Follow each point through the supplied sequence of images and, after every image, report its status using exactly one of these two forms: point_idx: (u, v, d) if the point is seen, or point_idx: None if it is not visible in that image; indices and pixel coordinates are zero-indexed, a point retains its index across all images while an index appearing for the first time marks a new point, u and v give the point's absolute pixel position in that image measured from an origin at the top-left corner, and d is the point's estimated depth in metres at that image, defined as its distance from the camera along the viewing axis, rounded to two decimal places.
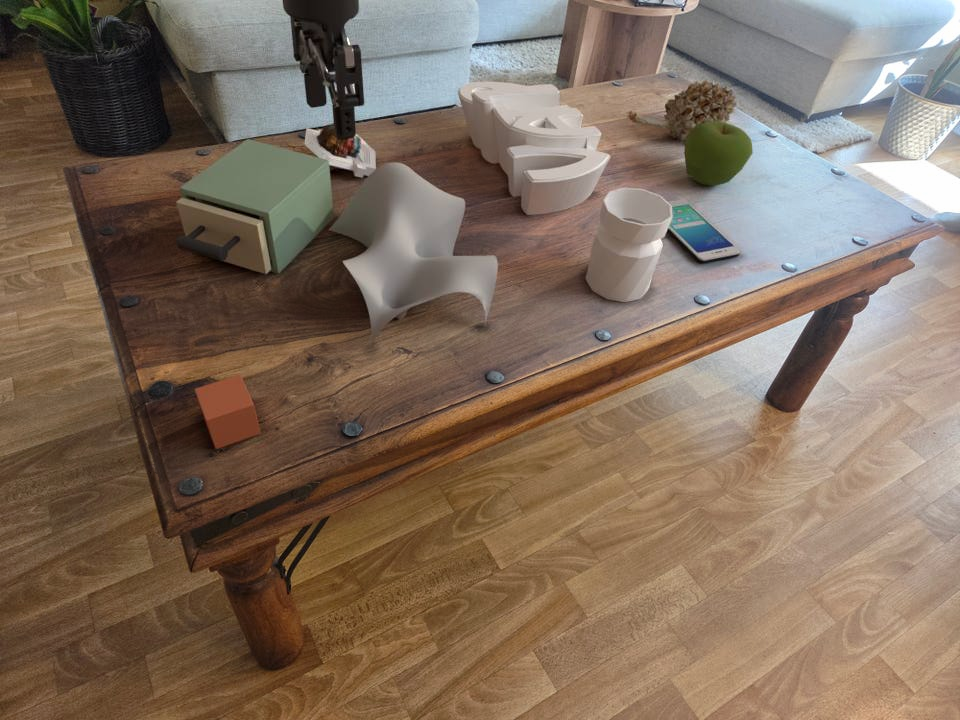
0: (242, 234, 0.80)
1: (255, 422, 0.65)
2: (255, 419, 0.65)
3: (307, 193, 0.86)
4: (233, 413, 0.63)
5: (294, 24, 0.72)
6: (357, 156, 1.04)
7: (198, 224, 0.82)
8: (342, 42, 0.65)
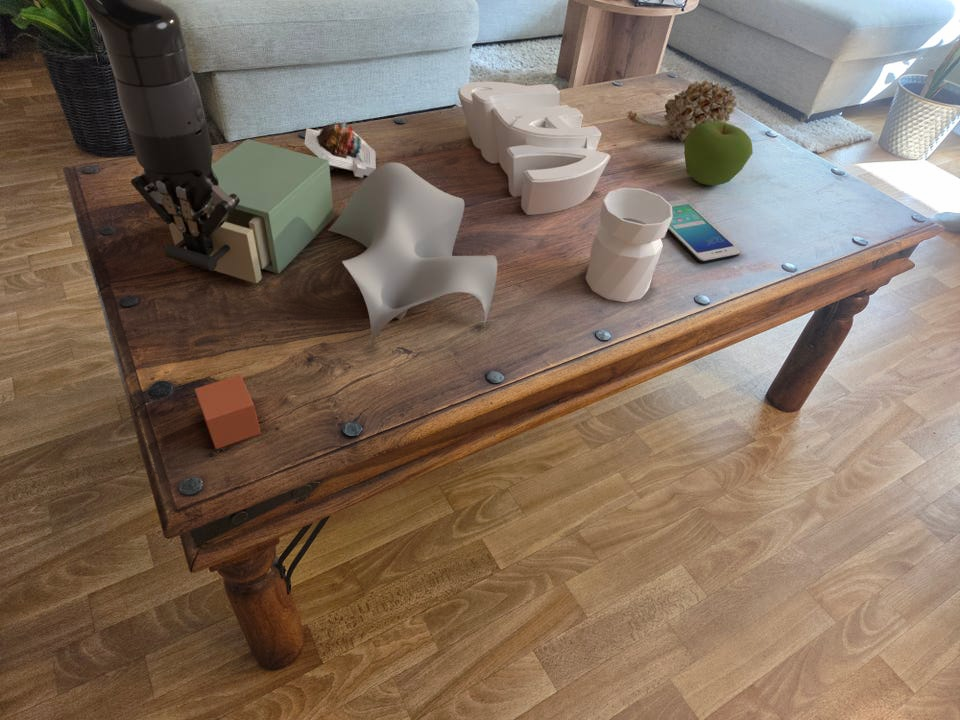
0: (232, 243, 0.79)
1: (255, 422, 0.65)
2: (255, 419, 0.65)
3: (307, 193, 0.86)
4: (233, 413, 0.63)
5: (145, 190, 0.73)
6: (357, 156, 1.04)
7: None
8: (219, 190, 0.71)
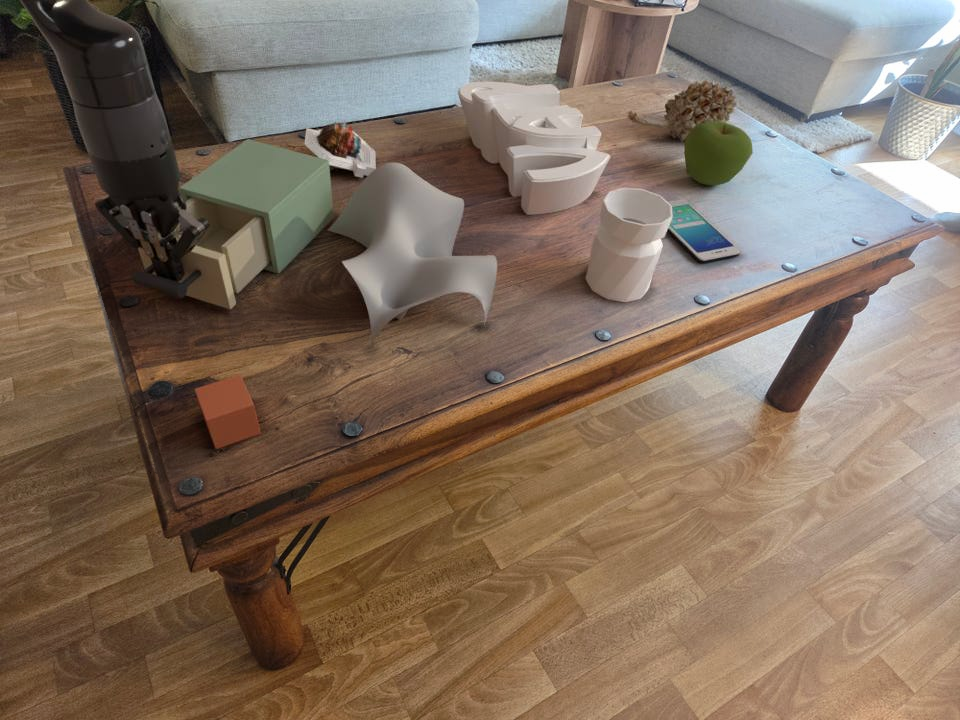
0: (203, 268, 0.75)
1: (255, 422, 0.65)
2: (255, 419, 0.65)
3: (307, 193, 0.86)
4: (233, 413, 0.63)
5: (110, 214, 0.70)
6: (357, 156, 1.04)
7: None
8: (187, 214, 0.68)
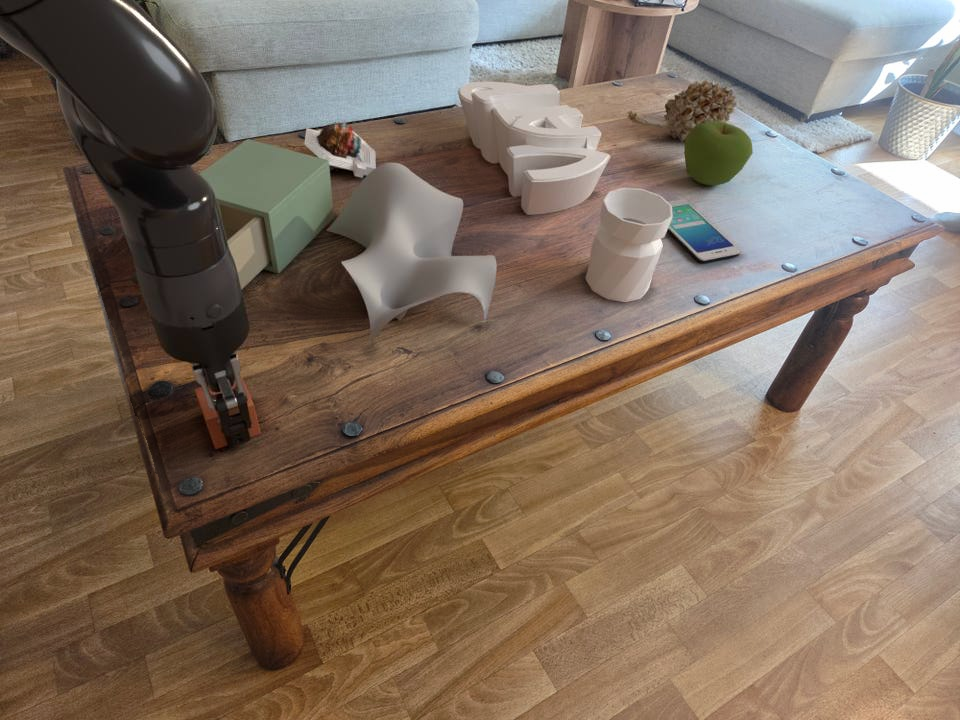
0: None
1: (255, 422, 0.65)
2: (255, 419, 0.65)
3: (307, 193, 0.86)
4: None
5: None
6: (357, 156, 1.04)
7: None
8: (227, 385, 0.57)
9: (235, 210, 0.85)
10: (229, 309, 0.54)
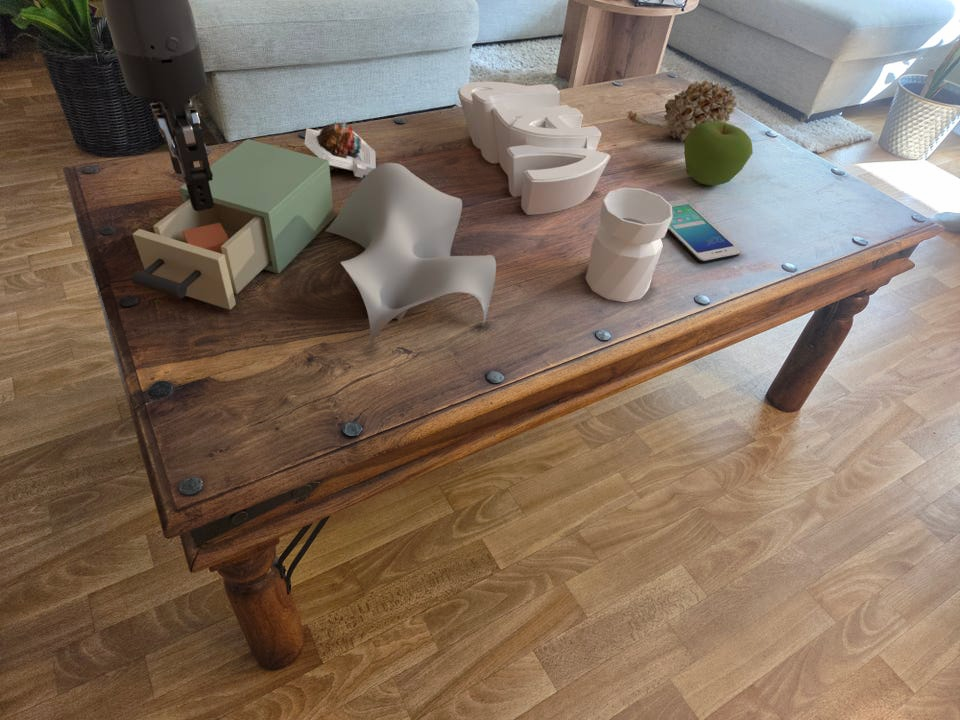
0: (203, 268, 0.75)
1: None
2: None
3: (307, 193, 0.86)
4: (213, 247, 0.78)
5: None
6: (357, 156, 1.04)
7: (157, 257, 0.76)
8: (184, 120, 0.65)
9: (235, 210, 0.85)
10: (186, 47, 0.62)
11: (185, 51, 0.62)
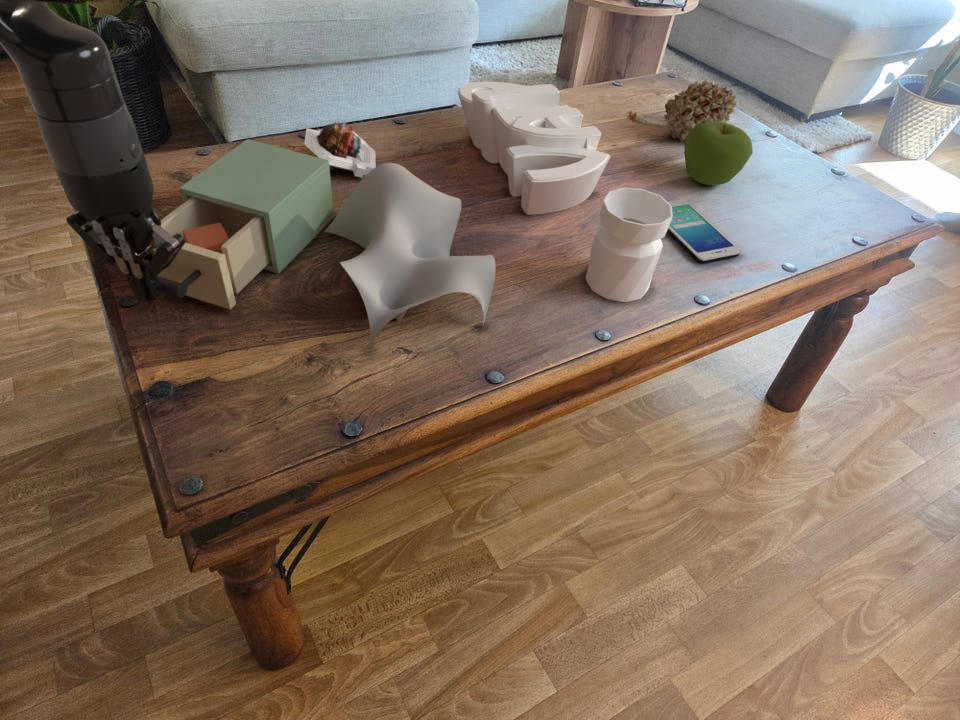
0: (203, 268, 0.75)
1: None
2: None
3: (307, 193, 0.86)
4: (214, 247, 0.78)
5: (82, 229, 0.67)
6: (357, 156, 1.04)
7: None
8: (162, 230, 0.65)
9: (235, 210, 0.85)
10: (141, 150, 0.61)
11: (141, 154, 0.61)
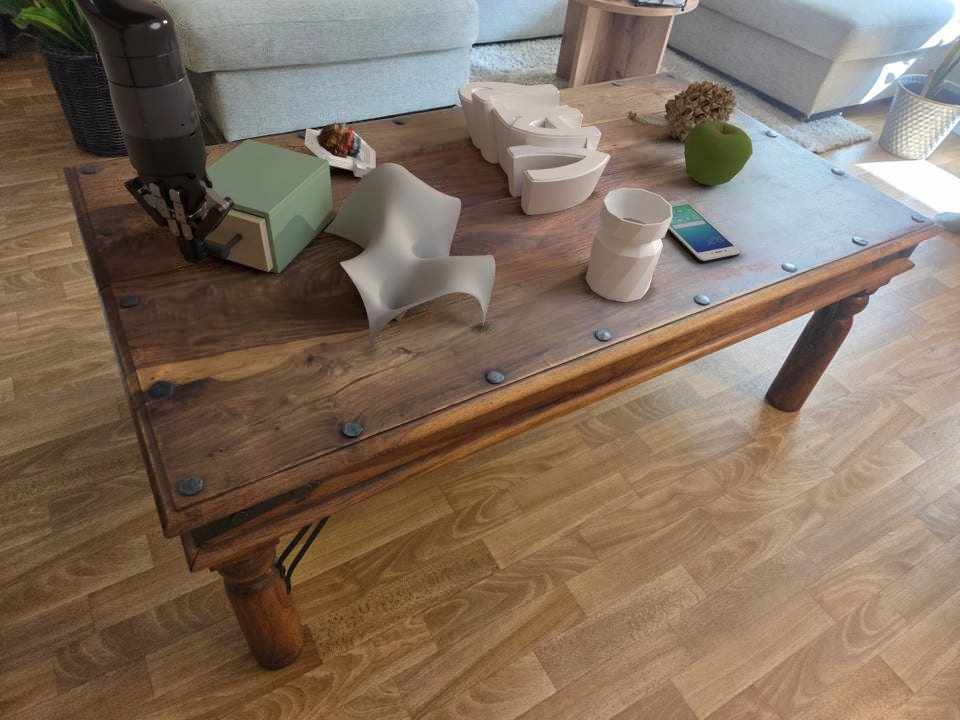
0: (244, 232, 0.80)
1: None
2: None
3: (307, 193, 0.86)
4: None
5: (139, 193, 0.73)
6: (357, 156, 1.04)
7: None
8: (214, 193, 0.71)
9: None
10: (198, 117, 0.67)
11: (198, 121, 0.67)
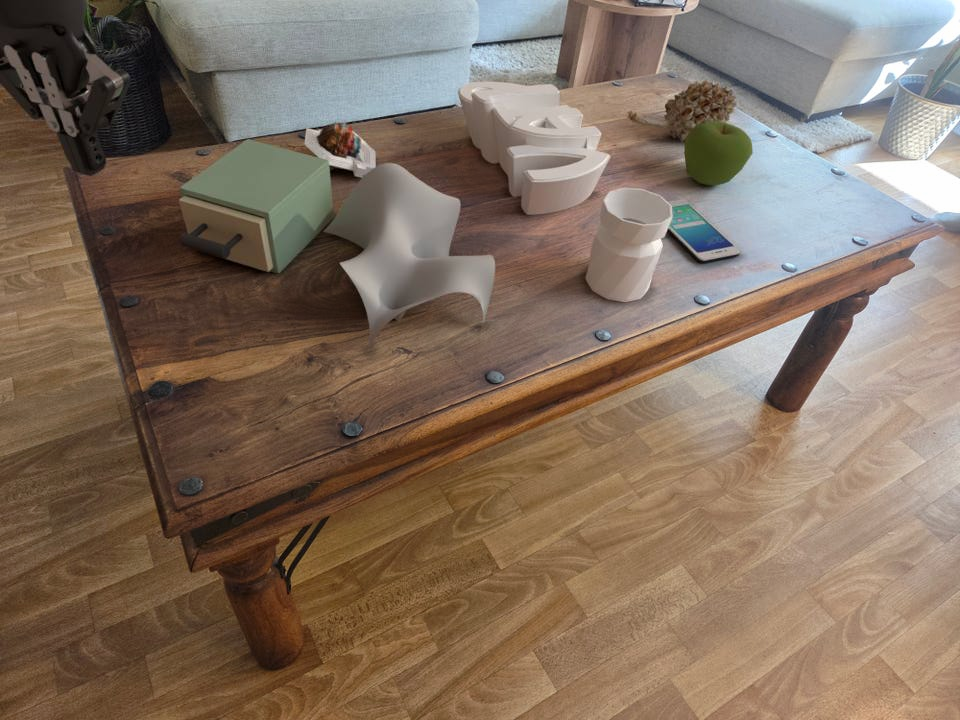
0: (244, 232, 0.80)
1: None
2: None
3: (307, 193, 0.86)
4: None
5: None
6: (357, 156, 1.04)
7: (201, 222, 0.82)
8: (98, 60, 0.49)
9: None
10: None
11: None
